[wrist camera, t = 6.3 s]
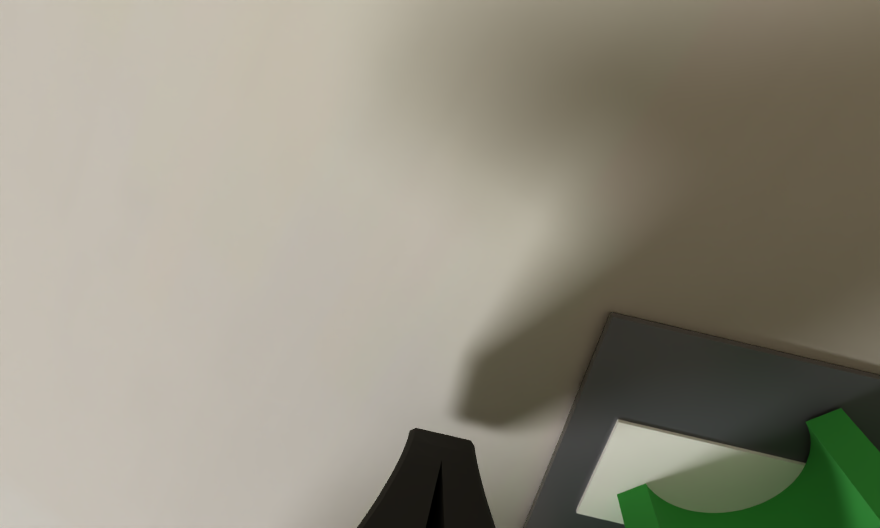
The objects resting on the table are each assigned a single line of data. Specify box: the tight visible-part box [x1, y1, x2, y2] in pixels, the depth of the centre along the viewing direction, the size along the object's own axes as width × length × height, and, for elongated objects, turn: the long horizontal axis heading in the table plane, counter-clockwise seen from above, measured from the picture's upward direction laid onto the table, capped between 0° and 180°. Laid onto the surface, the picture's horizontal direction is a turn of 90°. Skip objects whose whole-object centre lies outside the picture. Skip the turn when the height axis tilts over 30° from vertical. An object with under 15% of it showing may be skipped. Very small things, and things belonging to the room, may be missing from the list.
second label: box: [523, 312, 880, 528], centre depth 13 cm, size 9×8×1 cm
